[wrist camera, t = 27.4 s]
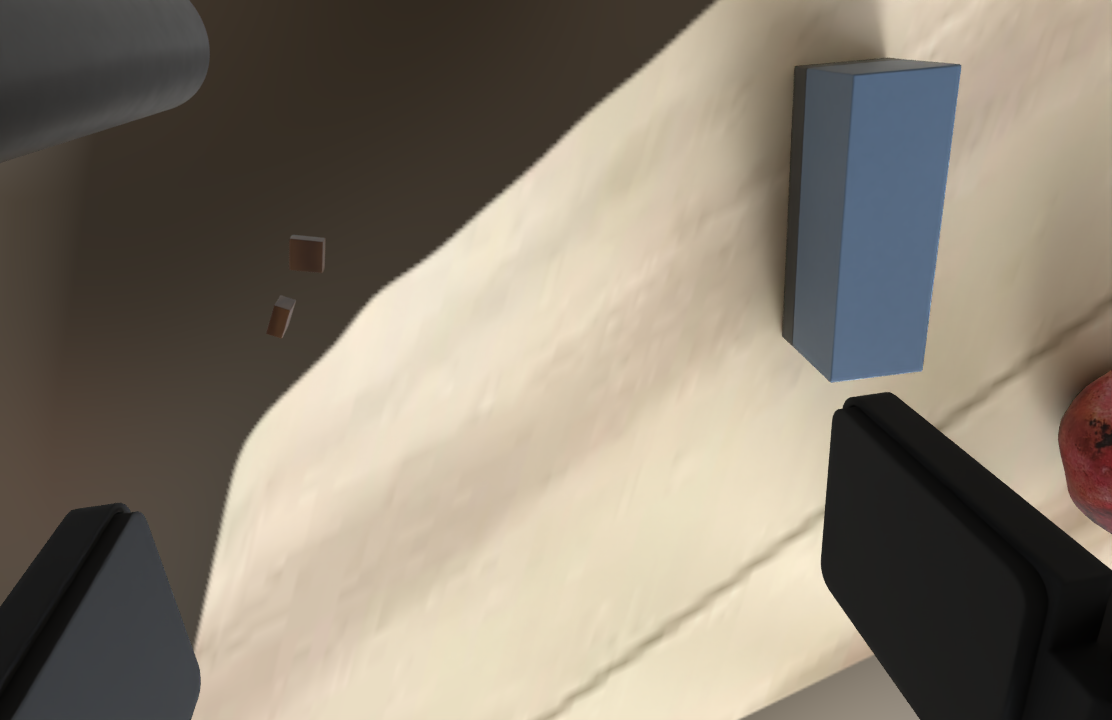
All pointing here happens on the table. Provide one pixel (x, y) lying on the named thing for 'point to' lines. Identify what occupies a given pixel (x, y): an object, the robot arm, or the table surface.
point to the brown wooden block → (307, 253)
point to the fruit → (1090, 450)
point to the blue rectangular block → (866, 212)
